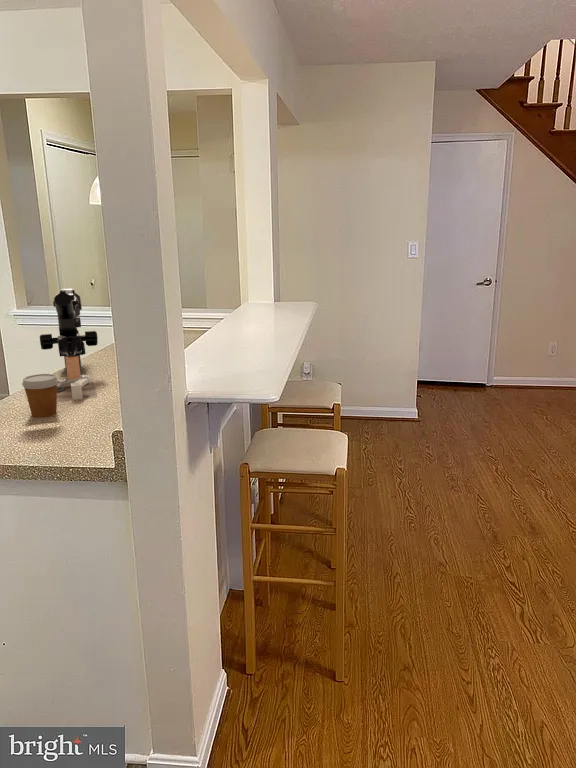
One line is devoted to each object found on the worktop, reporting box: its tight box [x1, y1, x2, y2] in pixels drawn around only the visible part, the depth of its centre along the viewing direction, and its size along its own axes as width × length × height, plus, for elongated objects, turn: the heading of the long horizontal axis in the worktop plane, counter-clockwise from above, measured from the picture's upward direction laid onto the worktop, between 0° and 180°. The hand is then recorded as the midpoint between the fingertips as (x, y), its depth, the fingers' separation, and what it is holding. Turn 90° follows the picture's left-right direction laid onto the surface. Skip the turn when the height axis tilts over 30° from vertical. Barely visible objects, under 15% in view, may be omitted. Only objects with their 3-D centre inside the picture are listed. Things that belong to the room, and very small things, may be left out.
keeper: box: [71, 379, 88, 401], centre depth 183 cm, size 8×5×4 cm
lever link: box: [57, 355, 90, 390], centre depth 192 cm, size 4×14×10 cm, turn 142°
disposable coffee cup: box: [21, 373, 59, 419], centre depth 165 cm, size 10×10×12 cm
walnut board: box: [57, 378, 98, 403], centre depth 189 cm, size 24×15×1 cm, turn 22°
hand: (71, 360), depth 198 cm, fingers closed
